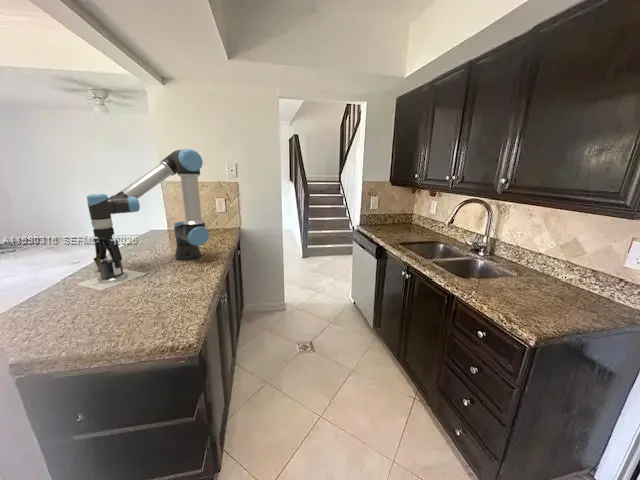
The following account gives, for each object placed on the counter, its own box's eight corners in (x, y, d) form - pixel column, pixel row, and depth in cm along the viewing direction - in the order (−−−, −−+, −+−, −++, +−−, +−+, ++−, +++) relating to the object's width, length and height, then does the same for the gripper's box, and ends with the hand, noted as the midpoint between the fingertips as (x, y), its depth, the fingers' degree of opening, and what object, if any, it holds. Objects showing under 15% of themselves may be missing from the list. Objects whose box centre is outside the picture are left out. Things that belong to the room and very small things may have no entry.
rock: (95, 265, 149) (84, 269, 140) (105, 252, 150) (94, 255, 140) (114, 275, 152) (105, 280, 142) (124, 263, 152) (115, 266, 143)
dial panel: (124, 271, 147) (123, 268, 146) (147, 276, 140) (146, 273, 140) (76, 287, 127) (75, 283, 127) (100, 293, 121) (100, 290, 120)
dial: (117, 272, 141) (114, 256, 139) (133, 275, 137) (130, 258, 134) (91, 280, 130) (87, 263, 128) (107, 284, 126) (104, 266, 124)
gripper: (80, 227, 127) (90, 272, 133) (108, 230, 120) (118, 278, 126) (97, 224, 134) (106, 267, 140) (126, 227, 127) (134, 273, 132)
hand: (112, 272), depth 133 cm, fingers open, 8 cm apart
